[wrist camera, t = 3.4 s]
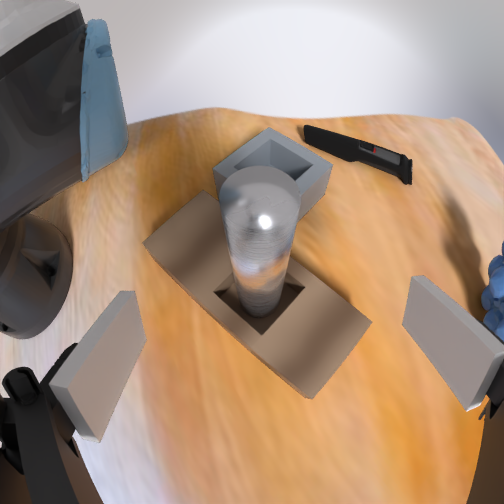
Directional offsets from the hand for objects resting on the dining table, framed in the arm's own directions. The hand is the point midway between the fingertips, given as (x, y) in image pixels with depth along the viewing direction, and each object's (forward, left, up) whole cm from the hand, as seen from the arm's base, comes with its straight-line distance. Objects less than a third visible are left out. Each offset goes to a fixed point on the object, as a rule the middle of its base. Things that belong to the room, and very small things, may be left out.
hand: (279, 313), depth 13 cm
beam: (-5, +3, -13) cm, 15 cm away
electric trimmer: (-6, +26, -14) cm, 30 cm away
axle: (-4, +3, -12) cm, 13 cm away
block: (-11, +13, -13) cm, 21 cm away
